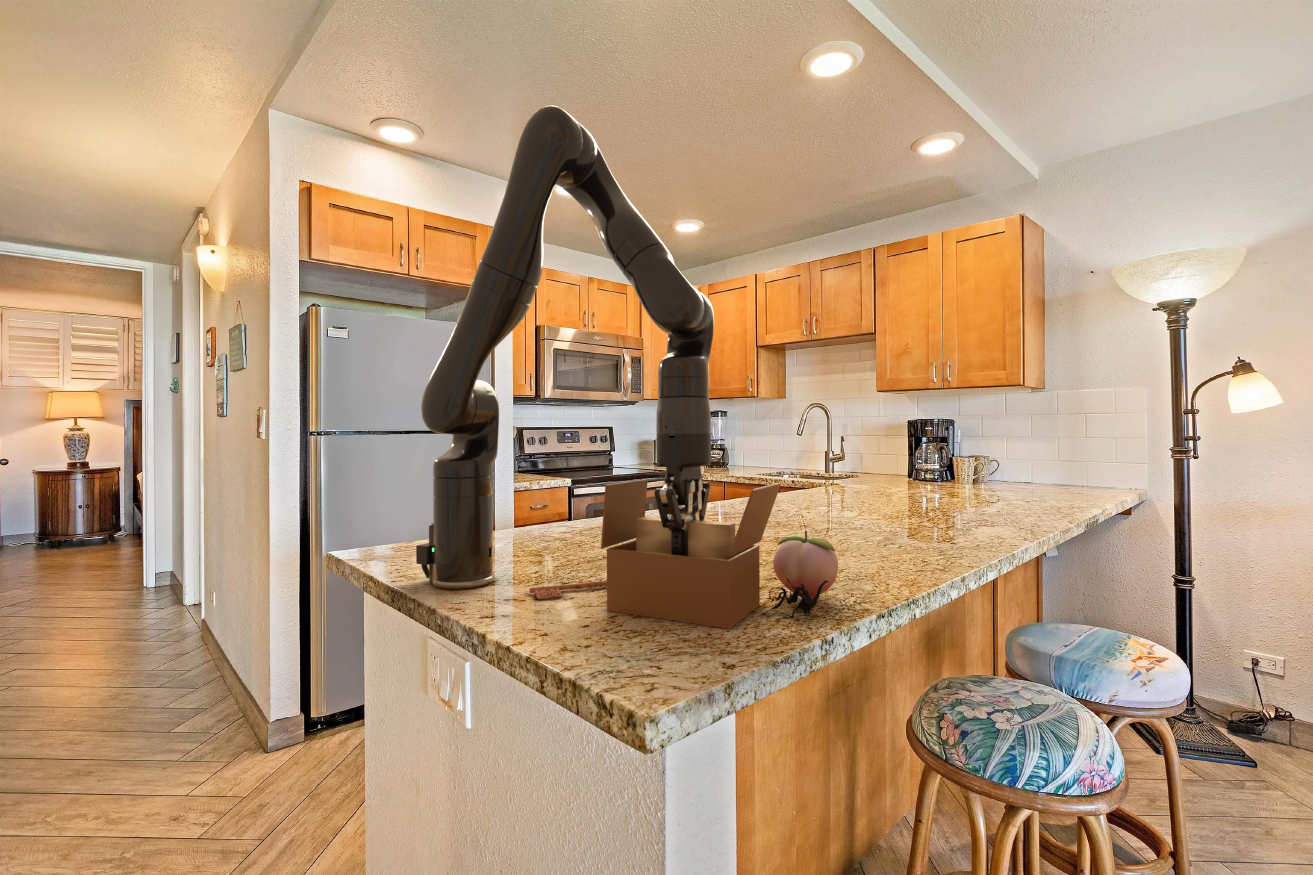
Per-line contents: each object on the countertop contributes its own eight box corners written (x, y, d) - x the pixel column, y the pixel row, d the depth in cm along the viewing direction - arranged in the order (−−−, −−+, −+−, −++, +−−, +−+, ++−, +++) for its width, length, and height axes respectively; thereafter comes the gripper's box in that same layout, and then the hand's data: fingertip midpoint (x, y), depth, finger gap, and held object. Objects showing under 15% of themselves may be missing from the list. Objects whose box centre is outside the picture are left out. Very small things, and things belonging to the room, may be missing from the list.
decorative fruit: (848, 598, 90) (848, 529, 90) (828, 611, 83) (828, 537, 83) (788, 588, 96) (787, 524, 96) (764, 600, 89) (764, 531, 89)
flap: (758, 540, 86) (760, 541, 86) (728, 555, 76) (731, 556, 76) (779, 482, 85) (781, 483, 85) (751, 489, 75) (754, 490, 74)
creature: (753, 620, 83) (794, 621, 77) (747, 579, 84) (787, 577, 77) (795, 611, 87) (838, 611, 81) (789, 572, 88) (831, 570, 82)
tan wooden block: (636, 554, 87) (635, 518, 87) (644, 551, 90) (643, 516, 89) (729, 563, 81) (729, 525, 81) (735, 559, 83) (735, 522, 83)
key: (533, 602, 89) (632, 592, 94) (533, 596, 89) (632, 586, 94) (527, 589, 95) (621, 580, 100) (527, 583, 95) (621, 574, 100)
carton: (759, 605, 86) (759, 483, 86) (729, 628, 76) (729, 489, 76) (642, 590, 95) (641, 479, 95) (600, 609, 85) (600, 484, 84)
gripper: (680, 431, 93) (681, 546, 93) (635, 431, 81) (636, 563, 81) (727, 431, 90) (727, 550, 90) (687, 430, 77) (688, 569, 77)
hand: (684, 555), depth 85 cm, fingers closed on tan wooden block, 2 cm apart
